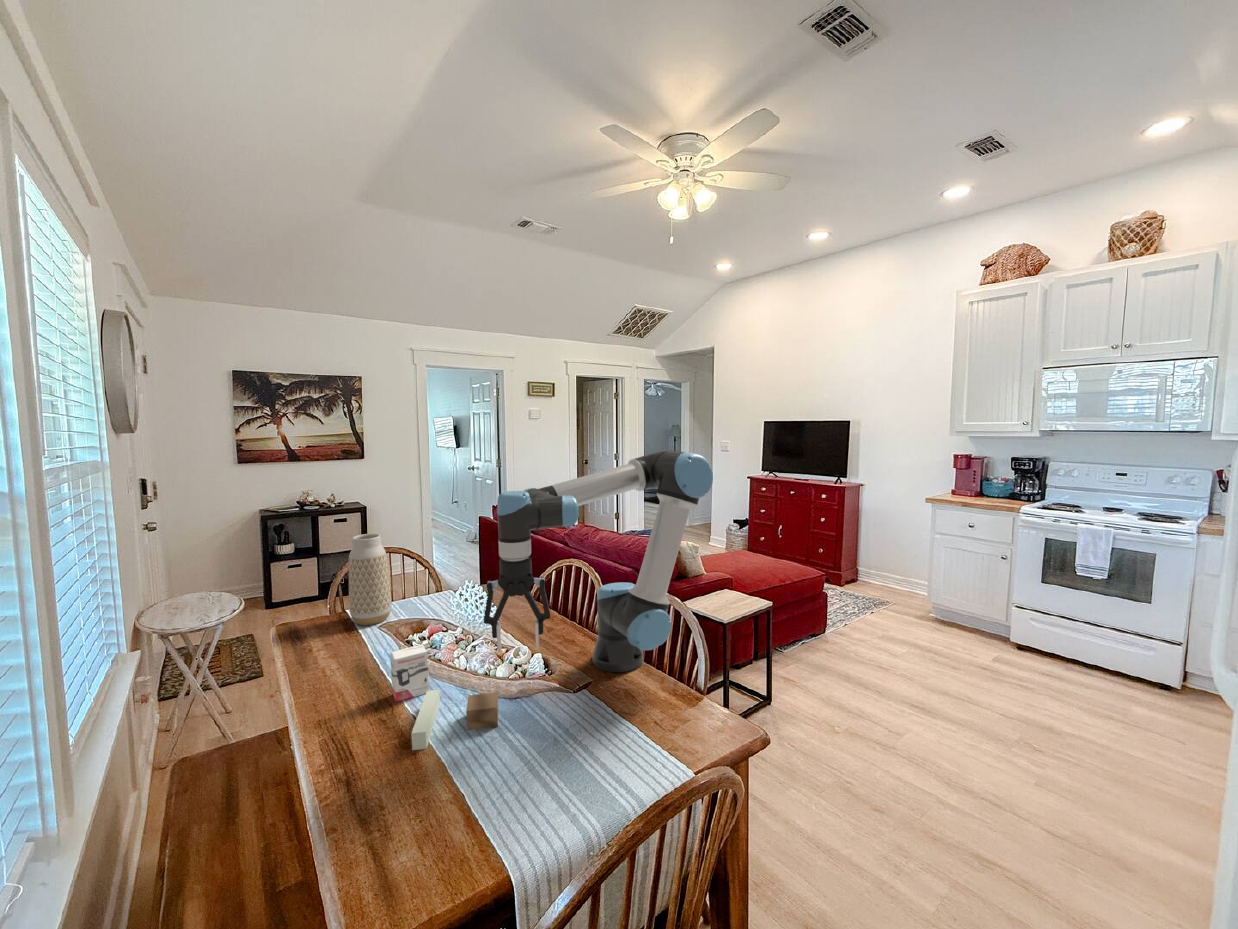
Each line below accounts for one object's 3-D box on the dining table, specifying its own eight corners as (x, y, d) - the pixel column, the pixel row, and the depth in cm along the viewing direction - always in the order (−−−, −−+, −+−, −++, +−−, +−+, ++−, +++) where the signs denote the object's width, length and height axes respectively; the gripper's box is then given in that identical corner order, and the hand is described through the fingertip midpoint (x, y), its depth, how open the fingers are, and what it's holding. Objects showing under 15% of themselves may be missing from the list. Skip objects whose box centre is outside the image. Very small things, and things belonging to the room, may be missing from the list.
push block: (498, 711, 133) (497, 692, 133) (497, 727, 126) (496, 707, 126) (469, 714, 132) (468, 695, 131) (467, 731, 125) (466, 711, 124)
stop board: (440, 704, 136) (439, 689, 136) (426, 748, 118) (425, 731, 118) (427, 705, 136) (426, 690, 135) (412, 750, 118) (411, 733, 117)
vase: (385, 609, 201) (380, 530, 198) (397, 620, 191) (392, 536, 187) (346, 619, 192) (340, 536, 189) (356, 631, 182) (350, 543, 179)
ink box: (396, 703, 137) (393, 659, 136) (392, 694, 141) (389, 651, 140) (430, 692, 142) (427, 650, 141) (425, 685, 146) (423, 643, 145)
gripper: (559, 550, 132) (561, 638, 134) (471, 555, 128) (475, 645, 131) (560, 558, 124) (563, 651, 127) (467, 564, 121) (471, 659, 123)
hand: (518, 648), depth 129 cm, fingers open, 8 cm apart
